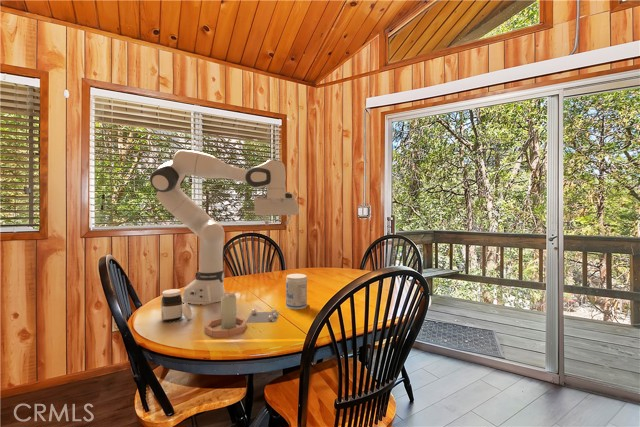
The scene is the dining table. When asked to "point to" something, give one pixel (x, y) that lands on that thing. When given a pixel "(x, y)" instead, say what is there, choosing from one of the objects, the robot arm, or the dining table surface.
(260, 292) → the dining table surface
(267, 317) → the parts board
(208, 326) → the bowl
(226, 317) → the pebble cup
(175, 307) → the spread jar
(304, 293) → the supplement tub
